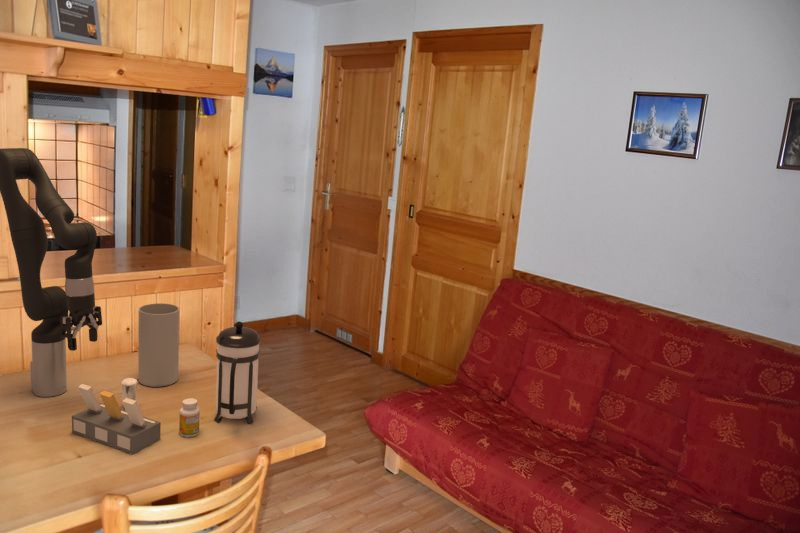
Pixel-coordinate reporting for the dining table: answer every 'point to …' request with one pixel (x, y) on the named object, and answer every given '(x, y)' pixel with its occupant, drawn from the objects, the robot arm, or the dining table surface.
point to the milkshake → (129, 388)
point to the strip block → (115, 430)
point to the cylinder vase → (158, 344)
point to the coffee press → (237, 373)
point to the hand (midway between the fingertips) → (83, 345)
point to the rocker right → (134, 412)
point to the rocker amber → (111, 405)
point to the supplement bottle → (189, 418)
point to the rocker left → (89, 398)
